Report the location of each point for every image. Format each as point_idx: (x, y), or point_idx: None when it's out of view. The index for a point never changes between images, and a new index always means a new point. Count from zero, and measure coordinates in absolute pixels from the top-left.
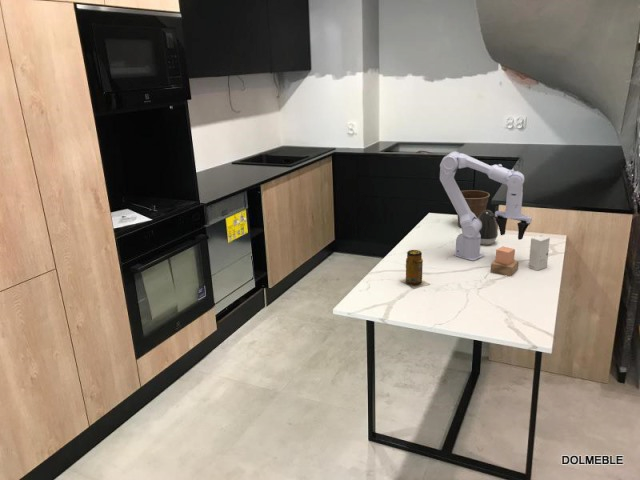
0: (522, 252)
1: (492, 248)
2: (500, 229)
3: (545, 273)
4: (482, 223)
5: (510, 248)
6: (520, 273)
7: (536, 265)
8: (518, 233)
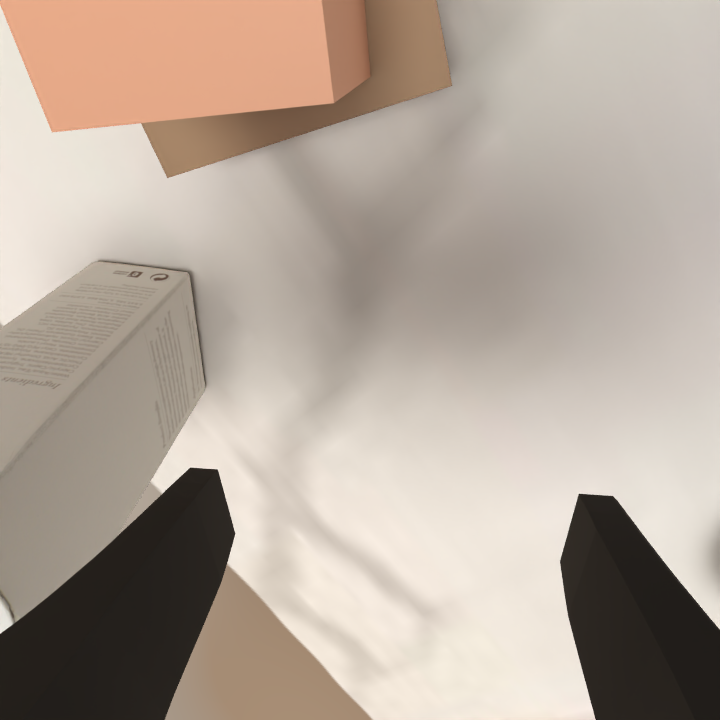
0: (440, 517)
1: (712, 473)
2: (672, 613)
3: (18, 250)
4: None
5: (130, 98)
6: None
7: (83, 281)
8: (138, 567)
